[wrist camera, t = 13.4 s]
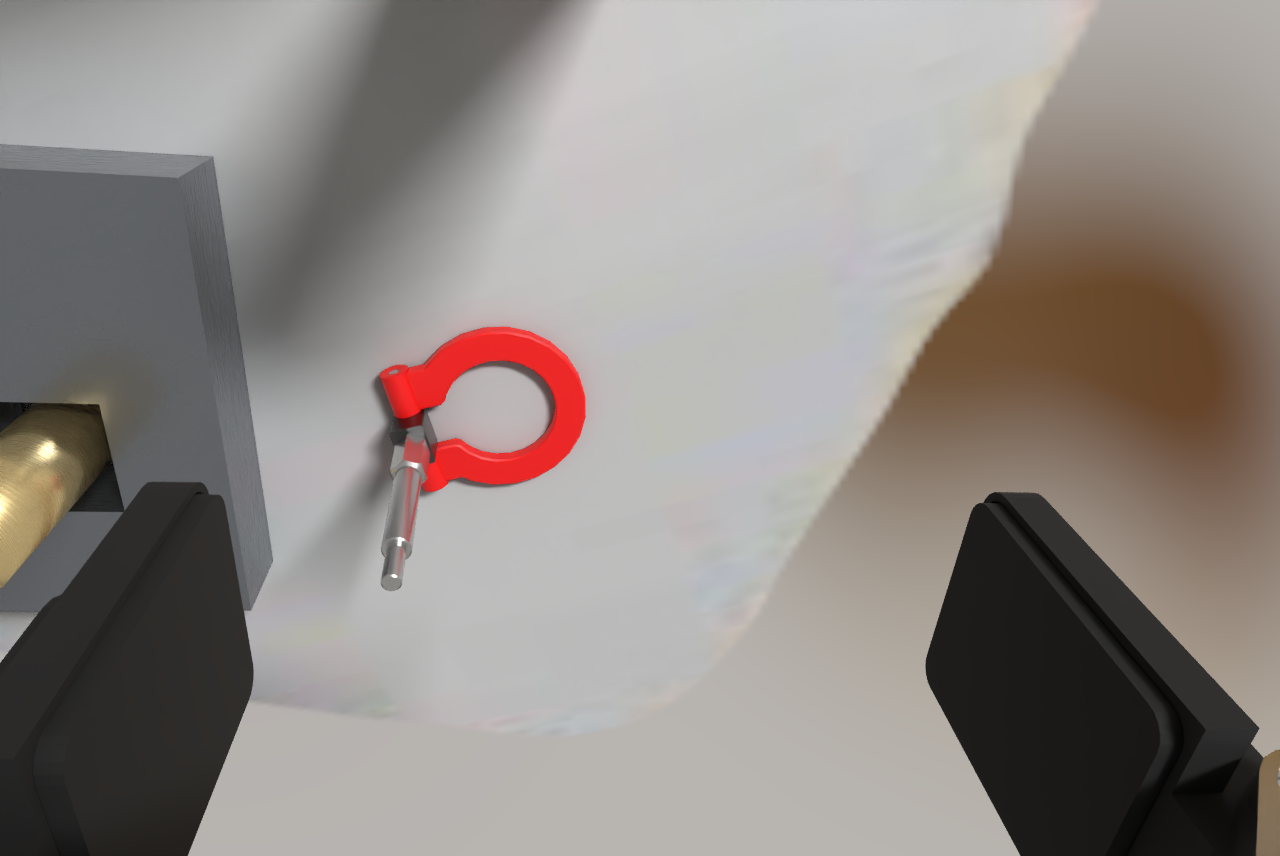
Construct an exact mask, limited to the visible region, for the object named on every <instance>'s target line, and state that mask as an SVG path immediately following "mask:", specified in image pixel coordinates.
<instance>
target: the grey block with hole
mask: <svg viewBox="0 0 1280 856" xmlns="http://www.w3.org/2000/svg"><path fill="white" fill-rule="evenodd" d="M21 402H26V403H69V404H99V406H100V410H101V414H102V418H103V423H104V427H105V431H106V435H107V439H108V443H109V448H110V452H111V456H112V460H113V464H114V466H107V467H106V468H105V469H104V471H103V472H102V473H101V474H100V475H99V476H98V477H97V479H96V480H95V481H94V482H93V483H92V484H91V486H90V487H89V488H88V489H87V490H86V491H85V492H84V494H83V495H82V496H81V497H80V498H79V499H78V501H77V502H76V503H75V504H74V505H73V506H72V507H71V509H70V510H69V511H68V512H67V513H66V514H65V516H64V517H63V518H62V519H61V520H60V521H59V523H58V524H57V525H56V526H55V527H54V528H53V529H52V531H51V532H50V533H49V534H48V535H47V536H46V538H45V539H44V540H43V541H42V542H41V543H40V544H39V546H38V547H37V548H36V549H35V550H34V551H33V553H32V554H31V555H30V556H29V557H28V558H27V559H26V561H25V562H24V563H23V564H22V565H21V566H20V568H19V569H18V570H17V571H16V572H15V573H14V575H13V576H12V577H11V578H10V579H9V580H8V581H7V583H6V584H5V585H4V586H3V587H2V588H1V589H0V612H28V611H41V609H42V608H43V607H44V606H45V605H46V604H47V603H48V602H49V601H50V600H51V599H52V598H54V597H56V596H59V595H61V594H62V593H63V592H64V590H65V589H66V588H67V587H68V585H69V584H70V583H71V581H72V580H73V579H74V577H75V576H76V575H77V573H78V572H79V571H80V569H81V568H82V567H83V565H84V564H85V563H86V561H87V560H88V559H89V557H90V556H91V555H92V553H93V552H94V551H95V549H96V548H97V547H98V545H99V544H100V543H101V541H102V540H103V539H104V537H105V536H106V535H107V533H108V532H109V531H110V529H111V528H112V527H113V525H114V524H115V523H116V521H117V520H118V519H119V517H120V516H121V515H122V513H123V512H124V511H125V509H126V508H127V507H128V505H129V504H130V503H131V502H132V500H133V499H134V498H135V496H136V495H137V494H138V492H139V491H140V490H141V488H142V487H143V486H144V485H145V484H146V483H147V482H152V481H153V482H201V483H203V484H204V485H205V486H206V488H207V490H208V492H209V494H212V495H220V496H222V498H223V500H224V503H225V507H226V512H227V518H228V524H229V529H230V535H231V541H232V547H233V552H234V558H235V564H236V570H237V575H238V581H239V587H240V593H241V598H242V604H243V610H251V609H252V607H253V605H254V603H255V600H256V598H257V596H258V594H259V591H260V589H261V587H262V585H263V582H264V580H265V578H266V576H267V573H268V571H269V569H270V567H271V564H272V562H273V558H272V551H271V544H270V538H269V531H268V524H267V517H266V511H265V504H264V497H263V490H262V484H261V477H260V470H259V463H258V457H257V450H256V443H255V436H254V430H253V423H252V416H251V409H250V403H249V396H248V389H247V382H246V376H245V369H244V362H243V355H242V349H241V342H240V335H239V329H238V322H237V315H236V308H235V302H234V295H233V288H232V281H231V275H230V268H229V261H228V254H227V248H226V241H225V234H224V227H223V221H222V214H221V207H220V200H219V194H218V187H217V180H216V173H215V167H214V160H213V157H208V156H191V155H174V154H157V153H139V152H122V151H105V150H88V149H70V148H53V147H36V146H19V145H1V144H0V432H2V431H3V430H4V429H5V428H6V427H7V426H8V425H10V424H11V423H12V422H13V421H14V420H15V419H17V418H18V417H19V416H20V415H21V414H22V413H23V412H24V411H23V408H22V404H21Z"/></svg>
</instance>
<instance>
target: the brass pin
mask: <svg viewBox="0 0 1280 856" xmlns="http://www.w3.org/2000/svg"><path fill="white" fill-rule="evenodd" d="M111 461H112V456H111V452H110V448H109V443H108V439H107V435H106V431H105V427H104V423H103V418H102V414H101V410H100V406H99V404H69V403H34V404H33V405H32V406H30V407H29V408H28V409H27V410H26V411H25V412H23V413H22V414H21V415H20V416H19V417H18V418H17V419H15V420H14V421H13V422H12V423H11V424H10V425H8V426H7V427H6V428H5V429H4V430H3V431H2V432H0V589H1V588H2V587H3V586H4V585H5V584H6V583H7V581H8V580H9V579H10V578H11V577H12V576H13V575H14V573H15V572H16V571H17V570H18V569H19V568H20V566H21V565H22V564H23V563H24V562H25V561H26V559H27V558H28V557H29V556H30V555H31V554H32V553H33V551H34V550H35V549H36V548H37V547H38V546H39V544H40V543H41V542H42V541H43V540H44V539H45V538H46V536H47V535H48V534H49V533H50V532H51V531H52V529H53V528H54V527H55V526H56V525H57V524H58V523H59V521H60V520H61V519H62V518H63V517H64V516H65V514H66V513H67V512H68V511H69V510H70V509H71V507H72V506H73V505H74V504H75V503H76V502H77V501H78V499H79V498H80V497H81V496H82V495H83V494H84V492H85V491H86V490H87V489H88V488H89V487H90V486H91V484H92V483H93V482H94V481H95V480H96V479H97V477H98V476H99V475H100V474H101V473H102V472H103V471H104V469H105V468H106V467H107V466H108V465H109V464H110V462H111Z"/></svg>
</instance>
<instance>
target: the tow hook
mask: <svg viewBox="0 0 1280 856" xmlns="http://www.w3.org/2000/svg"><path fill="white" fill-rule="evenodd" d="M489 361H509V362H514V363H519V364H521V365H524V366H526V367H528V368H530V369H532V370H534V371H535V372H536V373H537V374H538V375H539V376H541V377H542V378H543V379H544V380H545V382H546V383H547V385H548V386H549V388H550V389H551V391H552V394H553V397H554V400H555V411H554V415H553V419H552V422H551V424H550V425H549V427H548V429H547V430H546V432H545V433H544V434H543V435H542V436H541V437H540V438H539V439H538V440H537V441H536V442H535V443H533V444H531V445H530V446H528V447H526V448H524V449H521V450H518V451H515V452H511V453H498V454H496V453H490V452H484V451H480V450H478V449H476V448H473V447H471V446H469V445H468V444H466V443H465V442H464V441H462V440H461V439H456V438H455V439H451V440H447V441H442V442H438V443H437V438H436V435H435V433H434V430H433V427H432V424H431V422H430V419H429V416H428V413H427V411H426V408H429V407H434V406H438V405H441V404H442V403H443V402H444V401H445V398H446V394H447V392H448V390H449V389H450V387H451V385H452V383H453V382H454V381H455V380H456V379H457V378H458V377H459V376H460V375H461V374H462V373H463V372H465V371H466V370H468V369H470V368H472V367H473V366H475V365H478V364H482V363H485V362H489ZM379 377H380V379H381V382H382V384H383V387H384V390H385V392H386V395H387V397H388V400H389V403H390V405H391V408H392V410H393V413H394V417H393V421H392V426H391V431H390V437H391V439H392V442H393V445H394V453H393V457H392V462H391V467H390V474H391V476H392V479H393V481H394V482H393V487H392V492H391V498H390V503H389V508H388V514H387V519H386V525H385V530H384V535H383V541H382V546H381V552H382V554H383V556H384V557H385V560H384V566H383V571H382V577H381V586H382V587H383V588H384V589H385V590H388V591H395V590H397V589H399V588H400V587H401V585H402V579H403V572H404V565H405V560H406V559H407V558H409V556H410V555H411V553H412V547H413V539H414V532H415V525H416V517H417V510H418V502H419V495H420V487H421V486H422V488H423V490H424V491H427V492H432V491H437V490H439V489H442V488H443V487H445V486H446V485H447V484H448V482H449V480H453V479H457V478H461V477H463V478H466V479H468V480H471V481H475V482H481V483H487V484H493V485H496V484H512V483H518V482H522V481H525V480H529V479H532V478H536V477H538V476H539V475H541V474H543V473H545V472H547V471H548V470H550V469H552V468H554V467H555V466H556V465H557V464H558V463H559V462H560V461H561V460H562V459H564V458H565V457H566V456H567V455H568V454H569V453H570V451H571V450H572V448H573V446H574V445H575V443H576V442H577V440H578V438H579V437H580V434H581V430H582V427H583V424H584V420H585V394H584V391H583V387H582V384H581V381H580V378H579V374H578V372H577V371H576V369H575V368H574V366H573V365H572V363H571V362H570V360H569V359H568V357H567V356H566V355H565V354H564V353H563V352H562V351H561V350H559V349H558V348H557V347H556V346H555V345H554V344H552V343H551V342H550V341H548V340H546V339H544V338H542V337H540V336H538V335H536V334H534V333H532V332H529V331H525V330H520V329H515V328H510V327H487V328H481V329H477V330H474V331H470V332H467V333H463V334H460V335H459V336H457V337H455V338H454V339H452V340H450V341H449V342H447V343H445V344H443V345H442V346H441V347H440V348H439V349H438V350H437V351H436V352H435V353H434V354H433V355H432V356H431V357H430V358H429V359H428V360H427V361H426V363H425V364H422V365H418V366H414V367H410V368H408V366H406V365H395V366H392V367H389V368H387V369H385V370H383V371H382V372H381V373H380V375H379Z"/></svg>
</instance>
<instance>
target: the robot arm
mask: <svg viewBox="0 0 1280 856" xmlns="http://www.w3.org/2000/svg"><path fill="white" fill-rule="evenodd" d="M926 675H927V680H928V683H929V685H930V688H931V690H932V691H933V693H934V695H935V697H936V699H937V701H938V703H939V705H940V706H941V708H942V710H943V712H944V714H945V716H946V718H947V719H948V721H949V723H950V725H951V727H952V729H953V731H954V732H955V734H956V736H957V738H958V740H959V742H960V743H961V745H962V747H963V749H964V751H965V753H966V755H967V757H968V759H969V760H970V762H971V764H972V766H973V768H974V770H975V772H976V774H977V775H978V777H979V779H980V781H981V783H982V785H983V787H984V788H985V790H986V792H987V794H988V796H989V798H990V800H991V801H992V803H993V805H994V807H995V809H996V811H997V813H998V814H999V816H1000V818H1001V820H1002V822H1003V824H1004V826H1005V828H1006V829H1007V831H1008V833H1009V835H1010V837H1011V839H1012V841H1013V843H1014V844H1015V846H1016V848H1017V850H1018V852H1019V854H1020V856H1280V749H1279V750H1275V751H1273V752H1271V753H1270V754H1268V755H1267V756H1265V757H1264V758H1263V757H1262V756H1261V755H1260V753H1259V752H1258V751H1257V750H1256V749H1255V748H1254V747H1253V746H1252V745H1251V742H1252V740H1253V739H1254V737H1255V735H1256V733H1257V732H1258V730H1259V727H1258V726H1257V725H1256V724H1255V723H1254V722H1253V721H1252V720H1251V719H1250V718H1249V717H1248V715H1247V714H1246V713H1245V712H1244V711H1243V710H1242V709H1241V708H1240V707H1239V706H1238V705H1237V704H1236V703H1235V702H1234V700H1233V699H1232V698H1231V697H1230V696H1229V695H1228V694H1227V693H1226V692H1225V691H1224V690H1223V689H1222V688H1221V687H1220V686H1219V684H1218V683H1217V682H1216V681H1215V680H1214V679H1213V678H1212V677H1211V676H1210V675H1209V674H1208V673H1207V672H1206V671H1205V670H1204V668H1203V667H1202V666H1201V665H1200V664H1199V663H1198V662H1197V661H1196V660H1195V659H1194V658H1193V657H1192V656H1191V655H1190V654H1189V653H1188V651H1187V650H1186V649H1185V648H1184V647H1183V646H1182V645H1181V644H1180V643H1179V642H1178V641H1177V640H1176V638H1175V637H1174V636H1173V635H1172V634H1171V633H1170V632H1169V631H1168V630H1167V629H1166V628H1165V627H1164V626H1163V625H1162V624H1161V622H1160V621H1159V620H1158V619H1157V618H1156V617H1155V616H1154V615H1153V614H1152V613H1151V612H1150V611H1149V610H1148V609H1147V608H1146V606H1145V605H1144V604H1143V603H1142V602H1141V601H1140V600H1139V599H1138V598H1137V597H1136V596H1135V595H1134V594H1133V593H1132V592H1131V590H1129V588H1128V587H1127V586H1126V585H1125V584H1124V583H1123V582H1122V581H1121V580H1120V579H1119V578H1118V577H1117V576H1116V575H1115V573H1114V572H1113V571H1112V570H1111V569H1110V568H1109V567H1108V566H1107V565H1106V564H1105V563H1104V562H1103V561H1102V559H1101V558H1100V557H1099V556H1098V555H1097V554H1096V553H1095V552H1094V551H1093V550H1092V549H1091V548H1090V547H1089V546H1088V545H1087V543H1086V542H1085V541H1084V540H1083V539H1082V538H1081V537H1080V536H1079V535H1078V534H1077V533H1076V532H1075V531H1074V530H1073V528H1072V527H1071V526H1070V525H1069V524H1068V523H1067V522H1066V521H1065V520H1064V519H1063V518H1062V517H1061V516H1060V515H1059V513H1058V512H1057V511H1056V510H1055V509H1054V508H1053V507H1052V506H1051V505H1050V504H1049V503H1048V502H1047V501H1046V500H1045V499H1044V498H1043V497H1042V496H1041V495H1039V494H1036V493H1012V492H1011V493H1010V492H1009V493H1008V492H994V493H992V494H990V495H989V496H988V497H987V498H986V499H985V501H984V503H979V504H977V505H976V506H975V507H974V508H973V510H972V512H971V514H970V518H969V521H968V524H967V527H966V531H965V534H964V537H963V540H962V544H961V547H960V550H959V553H958V557H957V560H956V563H955V566H954V570H953V573H952V576H951V580H950V582H949V586H948V589H947V593H946V595H945V599H944V602H943V605H942V609H941V612H940V615H939V618H938V621H937V625H936V628H935V631H934V634H933V637H932V641H931V644H930V647H929V651H928V654H927V658H926ZM252 686H253V662H252V656H251V650H250V645H249V639H248V633H247V627H246V621H245V616H244V610H243V604H242V598H241V593H240V587H239V581H238V575H237V570H236V564H235V558H234V552H233V547H232V541H231V535H230V529H229V524H228V518H227V512H226V507H225V503H224V500H223V498H222V496H220V495H212V494H209V492H208V490H207V488H206V486H205V485H204V484H203V483H201V482H153V481H152V482H147V483H146V484H145V485H144V486H143V487H142V488H141V490H140V491H139V492H138V494H137V495H136V496H135V498H134V499H133V500H132V502H131V503H130V504H129V505H128V507H127V508H126V509H125V511H124V512H123V513H122V515H121V516H120V517H119V519H118V520H117V521H116V523H115V524H114V525H113V527H112V528H111V529H110V531H109V532H108V533H107V535H106V536H105V537H104V539H103V540H102V541H101V543H100V544H99V545H98V547H97V548H96V549H95V551H94V552H93V553H92V555H91V556H90V557H89V559H88V560H87V561H86V563H85V564H84V565H83V567H82V568H81V569H80V571H79V572H78V573H77V575H76V576H75V577H74V579H73V580H72V581H71V583H70V584H69V585H68V587H67V588H66V589H65V590H64V592H63V593H62V594H61V595H59V596H56V597H54V598H52V599H51V600H50V601H49V602H48V603H47V604H46V605H45V606H44V607H43V608H42V609H41V611H40V612H39V613H38V614H37V616H36V617H35V618H34V620H33V621H32V622H31V624H30V625H29V626H28V627H27V629H26V630H25V631H24V633H23V634H22V635H21V637H20V638H19V639H18V641H17V642H16V643H15V644H14V646H13V647H12V648H11V650H10V651H9V652H8V654H7V655H6V656H5V657H4V659H3V660H2V662H1V663H0V856H188V853H189V851H190V848H191V846H192V843H193V841H194V838H195V836H196V833H197V830H198V828H199V825H200V823H201V820H202V818H203V815H204V813H205V810H206V808H207V805H208V802H209V800H210V797H211V795H212V792H213V789H214V787H215V785H216V782H217V779H218V777H219V774H220V772H221V769H222V767H223V764H224V762H225V759H226V757H227V754H228V752H229V749H230V746H231V744H232V741H233V739H234V736H235V734H236V731H237V729H238V726H239V724H240V721H241V718H242V716H243V713H244V711H245V708H246V706H247V703H248V701H249V698H250V695H251V691H252Z"/></svg>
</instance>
